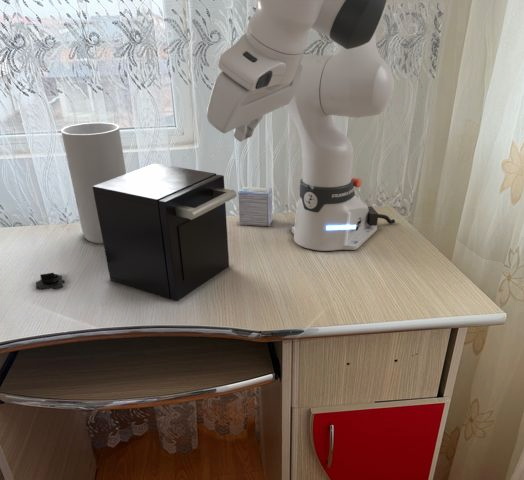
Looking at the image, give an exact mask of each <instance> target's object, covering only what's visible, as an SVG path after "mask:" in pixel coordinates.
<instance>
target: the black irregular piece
mask: <svg viewBox="0 0 524 480" xmlns="http://www.w3.org/2000/svg"><path fill="white" fill-rule="evenodd" d="M64 283H65V279H63V276H62V275H60V274H58V273H54V272H49V273H41V274H40V279H39V280H38V281H35V287H36V290H41V291H43V290H49V289H52V290H60V289H62V288H64Z"/></svg>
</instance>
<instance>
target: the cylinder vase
mask: <svg viewBox="0 0 524 480" xmlns="http://www.w3.org/2000/svg"><path fill="white" fill-rule="evenodd" d="M60 131H61V132H60V133H61V136H62V137H61V138H62V142H63V146H64V151H65V156H66V161H67V165H68V170H69V175H70V179H71V184H72V189H73V193H74V198H75V204H76V207H77V212H78V216H79V222H80V226H81V231H82V236H83V237H84V239H85V240H87V241H88V242H91V243H94V244H103V239H102V234H101V229H100V224H99V218H98V213H97V208H96V203H95V198H94V192H93V187H92V186H95V185H97V184H100V183H103V182H106V181H108V180H111V179H114V178H116V177H119V176H122V175H125V174H127V170H126V162H125V156H124V150H123V144H122V137H121V132H120V131H121V130H120V125H118V124H116V123H112V122H111V123H110V122H86V123H78V124H73V125H69V126H65V127H63V128H62V129H60Z"/></svg>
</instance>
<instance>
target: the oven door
mask: <svg viewBox="0 0 524 480" xmlns="http://www.w3.org/2000/svg"><path fill="white" fill-rule="evenodd" d="M235 198H237V191H236V190H235V189H230V188H229V189H228V188H225V176H224V175H222V174H217V175H215V176H213V177H211V178H209V179H206V180H204V181H202V182H200V183H197V184H195V185H193V186H191V187H188V188H186V189H184V190H182V191H179V192H177V193H175V194H173V195H170V196H168V197H166V198H164V199H161V200H159V201H158V202H159V210H160V217H161V225H162V233H163V241H164V248H165V256H166V264H167V271H168V279H169V287H170V295H171V299H170V300H172V301H176V302H179V301H180V300H182V299H183V298H184V297H186V296H187V295H190V293H192V292H194V291H195V290H197V289H198V288H199V287H201V286H202V285H204V284H206V283H207V282H208V281H210V280H212V279H213V278H214V277H215V276H217V275H219V274H221V273H222V272H224V271H225V270H226V269H228V268H230V256H229V243H228V241H229V240H228V223H227V208H226V203H227V202H229V201H231V200H233V199H235Z"/></svg>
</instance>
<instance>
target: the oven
mask: <svg viewBox="0 0 524 480" xmlns="http://www.w3.org/2000/svg"><path fill="white" fill-rule="evenodd" d="M215 175H218V173H217V172H216V173H215V172H208V171H203V170H202V171H201V170H197V169H191V168H185V167H179V166H174V165H167V164H162V163H152V164H149V165H146V166H144V167H141V168H138V169H136V170H133V171H130V172H126V174H125V175H122V176H119V177H116V178H114V179H111V180H108V181H106V182H103V183H100V184H97V185H95V186H92V187H93V192H94V198H95V203H96V208H97V213H98V218H99V224H100V229H101V234H102V239H103V243H102V244H103V248H104V249H103V250H104V255H105V259H106V265H107V269H108V275H109V281H110V282H112V283H115V284H118V285H121V286H125V287H127V288H131V289H136V290H138V291H141V292H144V293H148V294H152V295H154V296H158V297H161V298H164V299H168V300H172V299H171V295H170V287H169V279H168V271H167V264H166V256H165V248H164V241H163V233H162V225H161V217H160V210H159V202H158V201H159V200H161V199H164V198H166V197H168V196H170V195H173V194H175V193H177V192H179V191H182V190H184V189H186V188H188V187H191V186H193V185H195V184H197V183H200V182H202V181H204V180H206V179H209V178H211V177H213V176H215Z"/></svg>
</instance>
